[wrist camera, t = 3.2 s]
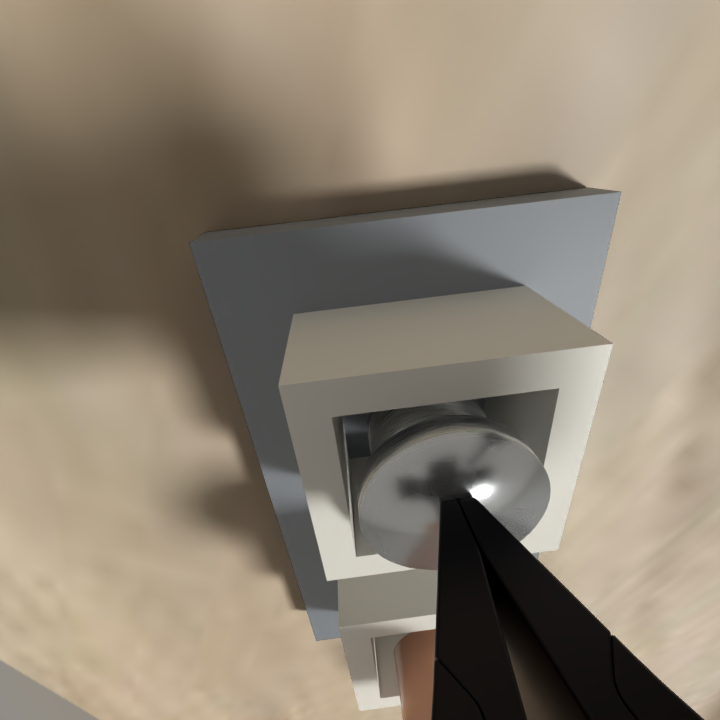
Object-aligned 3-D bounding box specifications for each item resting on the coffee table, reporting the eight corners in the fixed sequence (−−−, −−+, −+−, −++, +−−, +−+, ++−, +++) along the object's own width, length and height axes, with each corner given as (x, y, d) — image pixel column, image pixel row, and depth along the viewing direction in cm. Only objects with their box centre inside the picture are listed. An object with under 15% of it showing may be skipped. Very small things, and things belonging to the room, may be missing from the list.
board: (588, 187, 12) (772, 211, 7) (513, 585, 22) (564, 702, 18) (204, 232, 11) (115, 290, 7) (316, 612, 22) (314, 738, 17)
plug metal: (482, 330, 12) (566, 425, 8) (474, 438, 14) (536, 557, 10) (341, 347, 12) (348, 453, 8) (356, 454, 14) (368, 580, 10)
